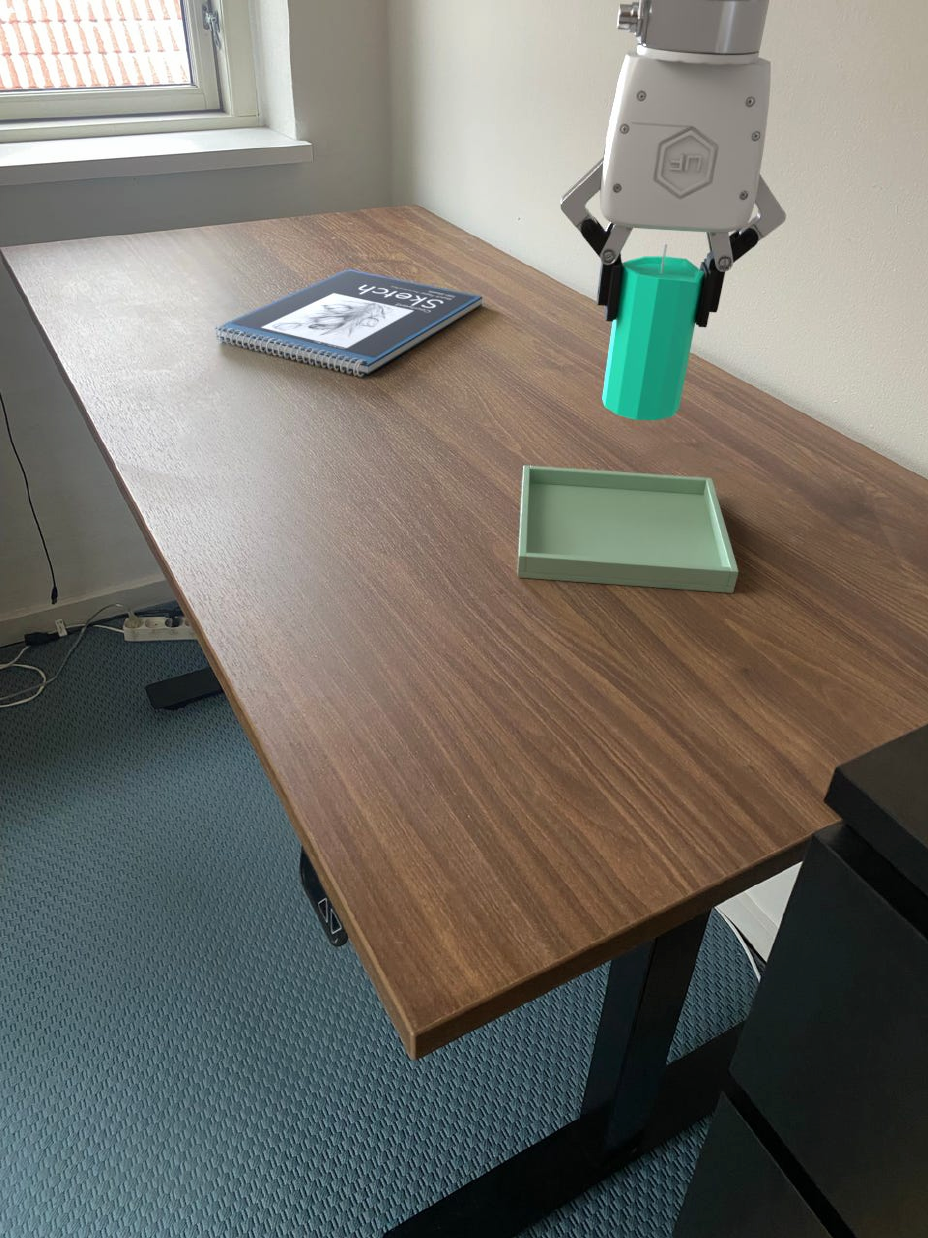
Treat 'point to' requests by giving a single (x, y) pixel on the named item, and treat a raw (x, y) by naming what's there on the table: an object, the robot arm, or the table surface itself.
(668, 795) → the table surface
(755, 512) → the table surface
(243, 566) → the table surface
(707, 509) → the tray
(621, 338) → the candle
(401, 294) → the sketchbook
